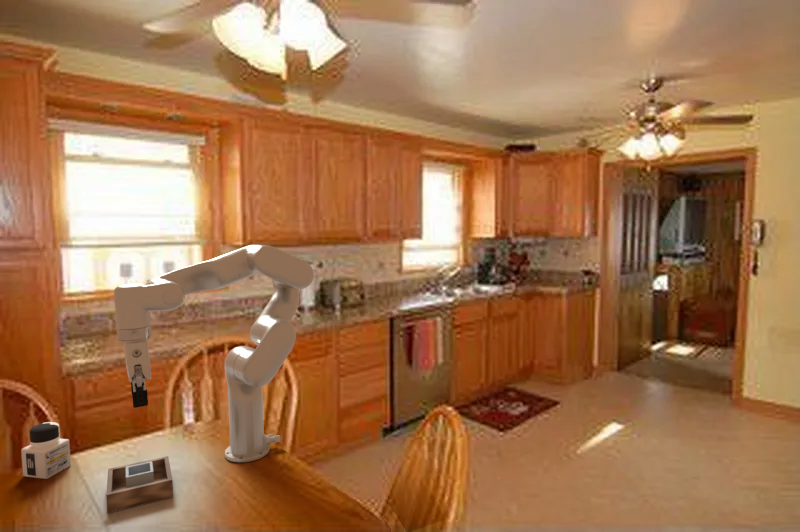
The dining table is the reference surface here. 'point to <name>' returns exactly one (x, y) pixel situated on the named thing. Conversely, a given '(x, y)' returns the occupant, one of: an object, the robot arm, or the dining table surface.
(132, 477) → the small crate
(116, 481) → the box
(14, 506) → the dining table surface
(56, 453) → the container
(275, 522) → the dining table surface
